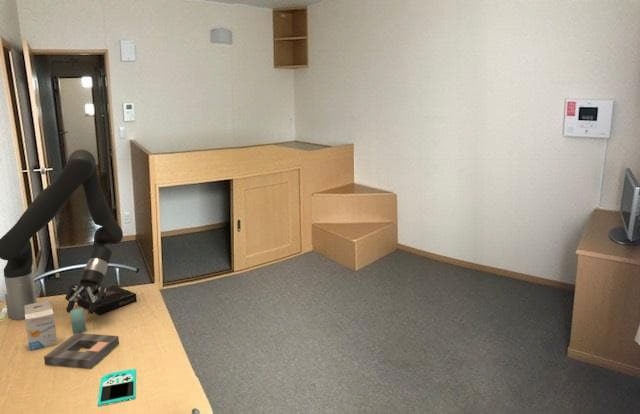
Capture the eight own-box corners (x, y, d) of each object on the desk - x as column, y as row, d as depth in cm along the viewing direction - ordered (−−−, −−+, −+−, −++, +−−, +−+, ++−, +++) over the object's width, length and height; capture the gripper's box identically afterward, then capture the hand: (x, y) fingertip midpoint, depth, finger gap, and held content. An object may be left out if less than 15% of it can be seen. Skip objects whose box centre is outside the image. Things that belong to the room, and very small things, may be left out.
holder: (45, 364, 153) (43, 355, 152) (77, 340, 168) (76, 332, 168) (90, 368, 151) (89, 359, 150) (119, 343, 166) (118, 335, 165)
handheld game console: (136, 371, 150) (136, 367, 150) (136, 400, 135) (136, 396, 135) (101, 377, 147) (101, 373, 146) (97, 408, 132) (97, 404, 132)
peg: (70, 333, 174) (67, 312, 172) (77, 327, 178) (75, 307, 176) (81, 334, 173) (78, 313, 172) (88, 328, 178) (86, 308, 176)
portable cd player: (113, 293, 211) (113, 284, 210) (136, 302, 201) (136, 293, 200) (77, 306, 198) (76, 297, 197) (99, 316, 188) (98, 307, 187)
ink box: (29, 351, 162) (23, 310, 158) (28, 345, 166) (22, 305, 162) (57, 344, 166) (52, 304, 163) (56, 338, 170) (51, 299, 167)
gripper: (72, 267, 182) (55, 308, 173) (107, 269, 180) (92, 310, 171) (82, 275, 188) (67, 315, 179) (116, 277, 186) (102, 317, 177)
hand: (79, 313), depth 175 cm, fingers open, 8 cm apart
